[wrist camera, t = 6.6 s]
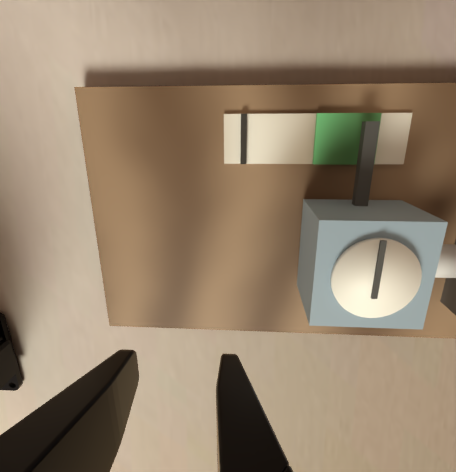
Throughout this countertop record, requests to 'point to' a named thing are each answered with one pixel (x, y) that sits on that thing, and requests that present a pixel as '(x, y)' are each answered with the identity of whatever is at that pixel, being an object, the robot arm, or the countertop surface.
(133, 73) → the countertop surface
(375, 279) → the force gauge
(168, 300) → the gauge board
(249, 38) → the countertop surface
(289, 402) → the countertop surface
